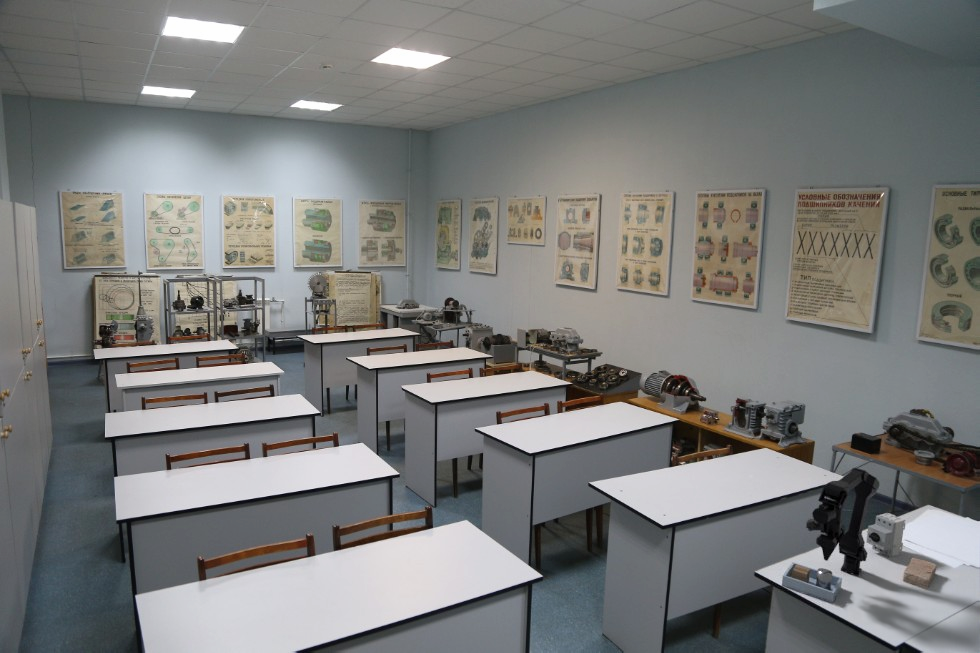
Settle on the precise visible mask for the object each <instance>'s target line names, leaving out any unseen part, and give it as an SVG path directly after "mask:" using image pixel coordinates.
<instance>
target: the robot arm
mask: <svg viewBox="0 0 980 653" xmlns="http://www.w3.org/2000/svg"><path fill="white" fill-rule="evenodd" d="M879 487H880V481H879V480H878V478H877V477H875V476H874V475H872V474H870V473H869V472H868V471H867V470H865V469H861V468H858V467H852V469H851V471H850V472H848V473H847V474H846V475H844V476H843V477H842V478H840V479H839V480H832V481H829V482H827V483H826V484H825V485H824V486H823V488H822V490H821V492H820V496H819V498H818V502H820V503H821V504H819V505H818V507H816V508H814V509H813V511H812V514H811V515H812V518H809V519H807V521H806V526H805V528H806V529H807V531H809V532H812V531H819V532H820V533H821V534H818V535H817V537H816V540H815V543H816V545H818V546H819V547H820V548H821V550H822V555H823V560H824V561H829V559H830V557H831V556H832V554H833V553H834V550H835V549H836V548H837V546H838V551H839V552H838V553H839V554H842V555H844V557H843V564H842V566H841V567H840V571H842V572H844V573H847V572H848V574H851V575H853V576H860V574H861V572H862V568H861V562H866V561H867V558H868V552H867V550H866V548H865V543H866V542H865V540H864V537H863V534H862V533H863V529H864V526H865V522H866V521H865V520H866V516H867V512H868V507H869V503H870V499H871V498H872V497H874V496H875V495H876V493H877V492H878V491H877V490H879ZM852 490H853V491H854V495H855V499H854V503H853V507H852V512H851V515H850V520H849V524H848V530H847V531H846V526H845V525H844V524H842V523H843V519H842V518H843V510H844V509H843V508H844V506H845V504H846V502H847V500H848V498H849V497H850V496H849V493H850V492H851V491H852Z"/></svg>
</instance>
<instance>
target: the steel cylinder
mask: <svg viewBox="0 0 980 653" xmlns="http://www.w3.org/2000/svg"><path fill="white" fill-rule="evenodd" d="M816 570H817V580H816V586H818V587H821V588H824V589H827V590H829V591H831V583H832V575H833V572H832V571H831V570H829V569H827V568H822V567H821V568H820V567H819V568H818V569H816Z"/></svg>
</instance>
